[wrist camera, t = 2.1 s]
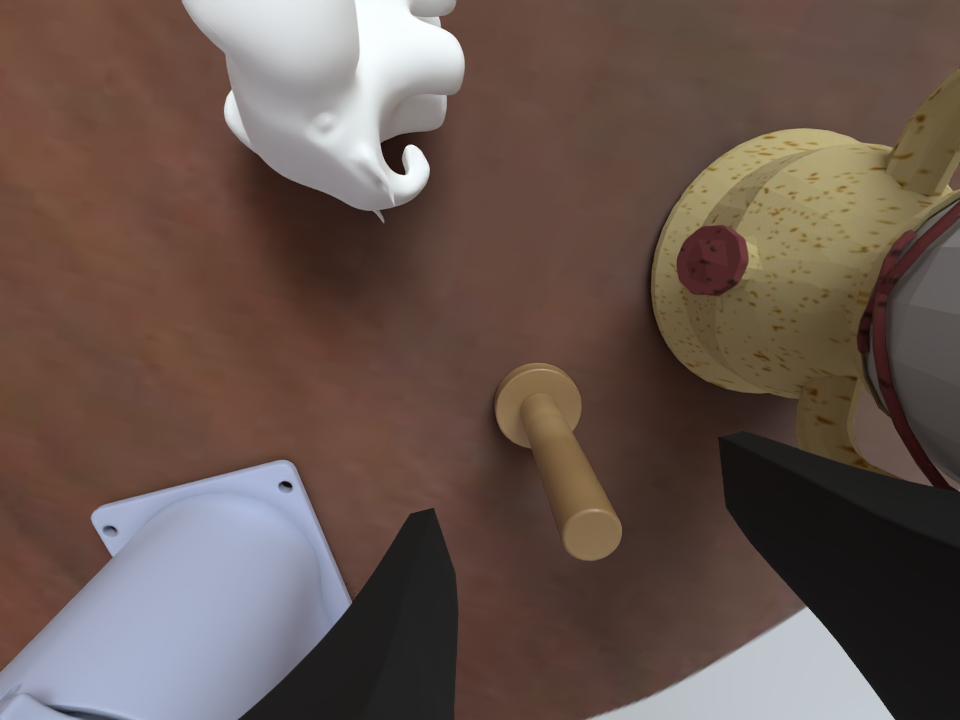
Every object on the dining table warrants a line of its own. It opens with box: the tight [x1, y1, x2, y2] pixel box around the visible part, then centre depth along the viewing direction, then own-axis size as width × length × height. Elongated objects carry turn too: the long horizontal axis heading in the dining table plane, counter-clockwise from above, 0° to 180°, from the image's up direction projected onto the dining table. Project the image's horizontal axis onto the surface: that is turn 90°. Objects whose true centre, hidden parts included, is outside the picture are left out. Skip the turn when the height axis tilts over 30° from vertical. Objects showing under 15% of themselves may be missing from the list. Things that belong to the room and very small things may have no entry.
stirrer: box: [494, 363, 622, 561], centre depth 15 cm, size 3×3×8 cm
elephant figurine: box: [182, 0, 465, 223], centre depth 12 cm, size 7×8×6 cm
